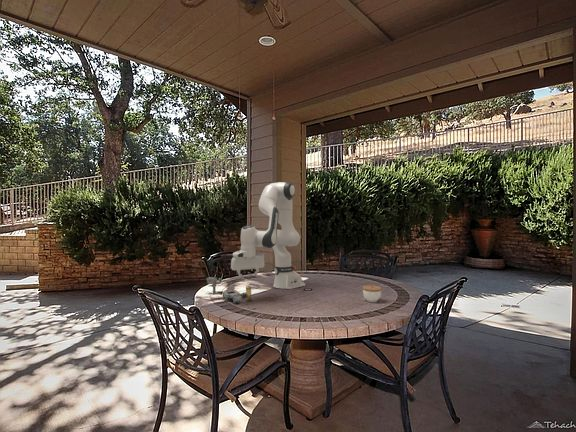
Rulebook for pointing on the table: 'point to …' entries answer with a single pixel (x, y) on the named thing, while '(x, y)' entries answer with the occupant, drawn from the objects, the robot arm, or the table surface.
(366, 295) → the lidded jar
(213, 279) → the mechanical component
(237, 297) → the chain ends
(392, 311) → the table surface
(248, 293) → the brass pin
